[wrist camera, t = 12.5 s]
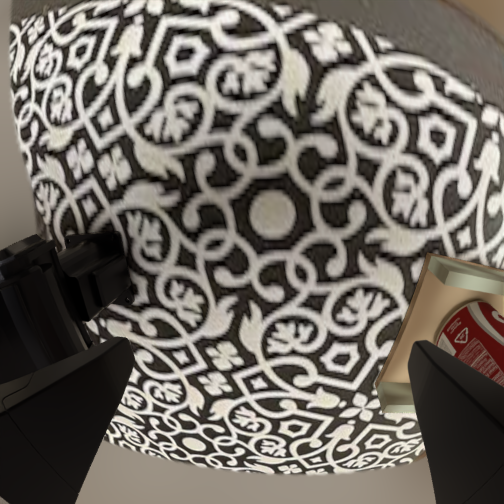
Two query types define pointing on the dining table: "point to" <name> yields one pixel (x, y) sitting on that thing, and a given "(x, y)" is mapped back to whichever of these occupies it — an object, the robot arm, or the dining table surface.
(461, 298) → the dock
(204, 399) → the dining table surface
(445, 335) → the soda can
